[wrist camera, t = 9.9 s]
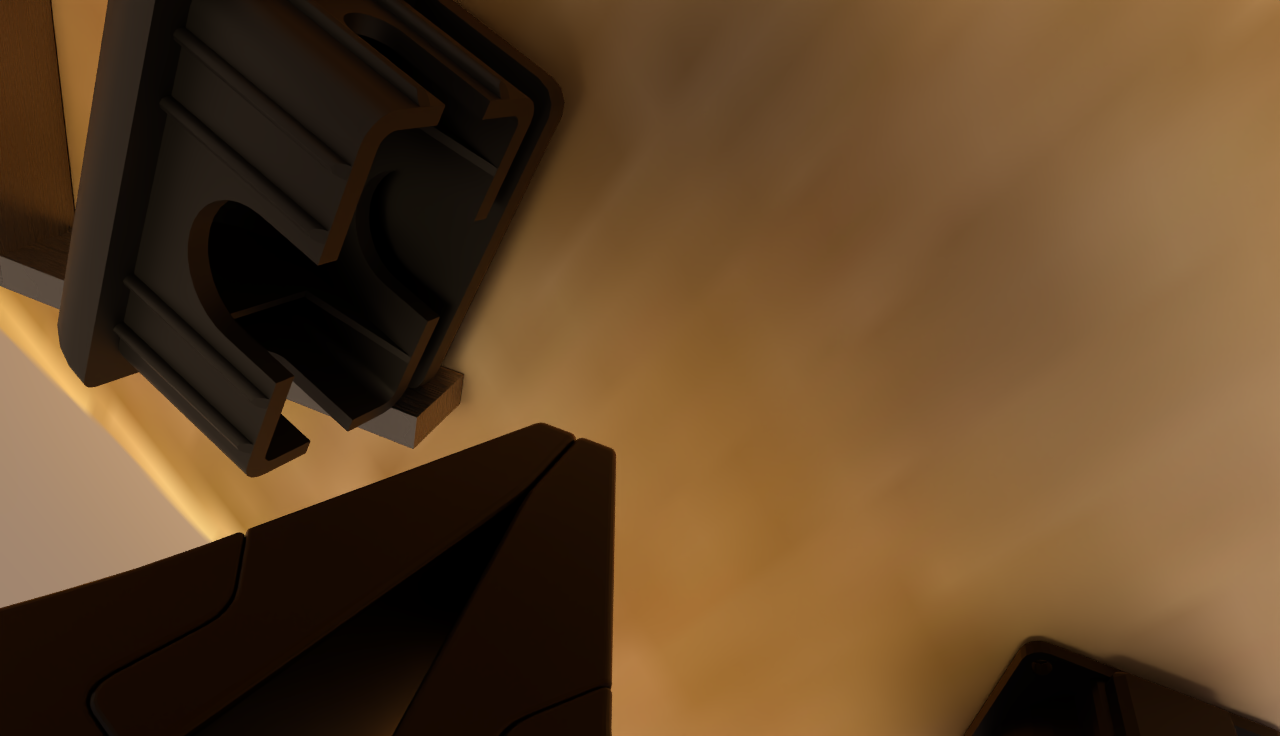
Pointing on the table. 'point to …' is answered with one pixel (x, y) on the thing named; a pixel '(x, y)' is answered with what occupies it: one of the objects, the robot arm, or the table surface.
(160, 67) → the end cap
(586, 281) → the table surface
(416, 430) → the frame
